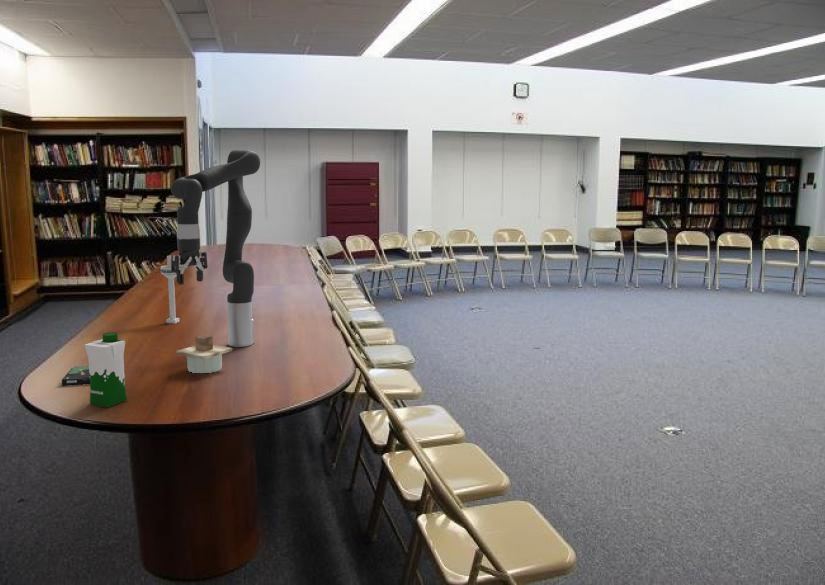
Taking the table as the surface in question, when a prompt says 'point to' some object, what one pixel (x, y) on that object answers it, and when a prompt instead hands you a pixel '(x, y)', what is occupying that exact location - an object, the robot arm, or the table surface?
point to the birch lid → (203, 348)
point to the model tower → (170, 290)
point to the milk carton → (106, 371)
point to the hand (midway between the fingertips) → (190, 282)
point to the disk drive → (77, 376)
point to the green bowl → (204, 364)
